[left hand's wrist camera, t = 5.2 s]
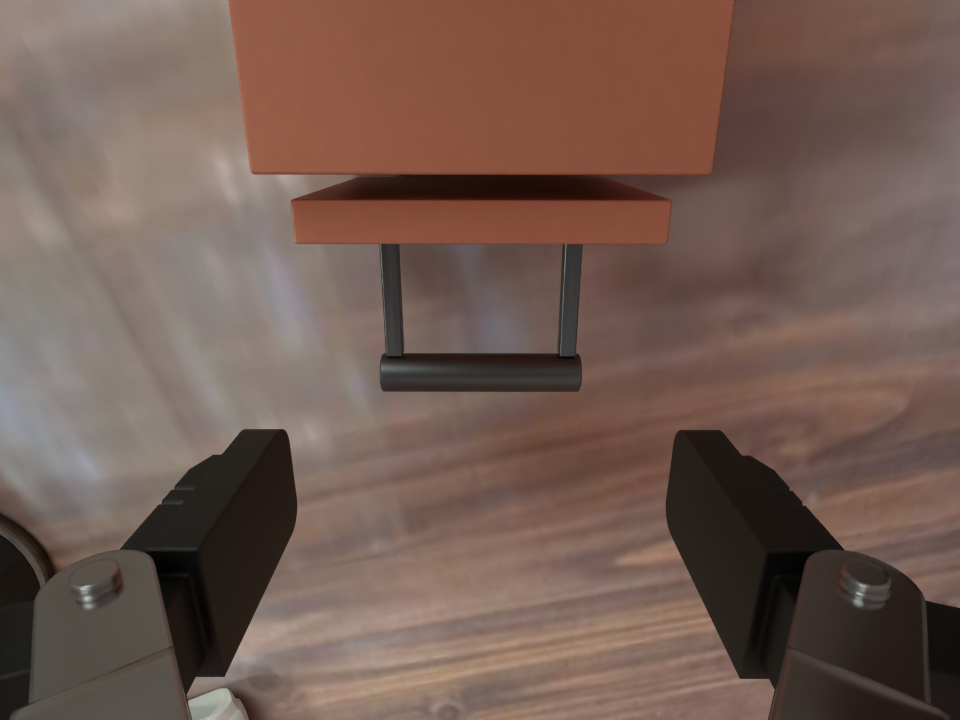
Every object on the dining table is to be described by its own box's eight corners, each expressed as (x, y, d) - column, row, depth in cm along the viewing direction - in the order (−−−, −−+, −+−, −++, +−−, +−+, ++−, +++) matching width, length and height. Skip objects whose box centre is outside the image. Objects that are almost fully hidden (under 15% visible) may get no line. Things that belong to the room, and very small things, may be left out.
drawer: (592, 340, 27) (646, 437, 18) (368, 340, 27) (315, 436, 18) (645, -388, 19) (793, -855, 10) (317, -388, 19) (173, -856, 10)
